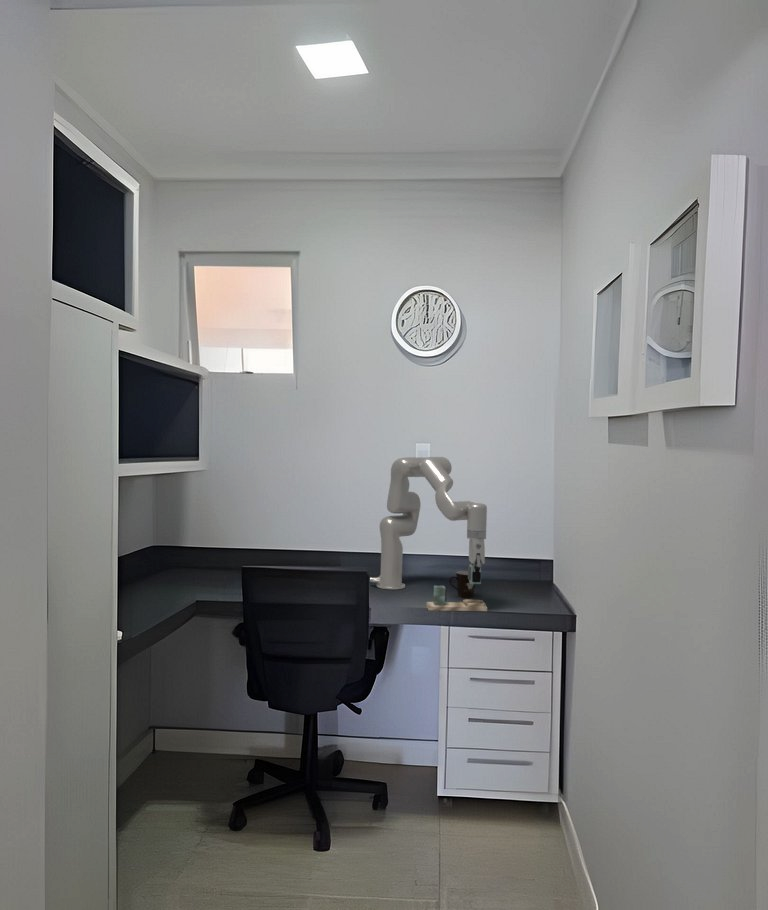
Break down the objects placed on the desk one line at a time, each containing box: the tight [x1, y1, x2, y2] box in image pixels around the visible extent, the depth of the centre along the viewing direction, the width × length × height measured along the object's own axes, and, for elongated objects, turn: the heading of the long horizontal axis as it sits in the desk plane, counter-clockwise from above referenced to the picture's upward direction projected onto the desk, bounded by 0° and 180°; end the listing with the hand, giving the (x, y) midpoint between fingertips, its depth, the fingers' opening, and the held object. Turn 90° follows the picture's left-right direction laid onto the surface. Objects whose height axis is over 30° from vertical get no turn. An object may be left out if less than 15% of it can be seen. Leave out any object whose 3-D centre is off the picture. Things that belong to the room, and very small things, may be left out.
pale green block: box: [467, 563, 482, 585], centre depth 318 cm, size 5×4×7 cm
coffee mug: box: [449, 570, 476, 599], centre depth 341 cm, size 12×9×10 cm
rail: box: [425, 585, 488, 612], centre depth 318 cm, size 23×8×8 cm, turn 94°
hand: (475, 580), depth 318 cm, fingers closed on pale green block, 4 cm apart
